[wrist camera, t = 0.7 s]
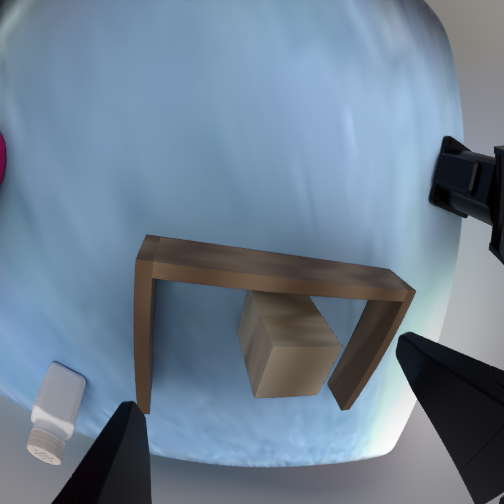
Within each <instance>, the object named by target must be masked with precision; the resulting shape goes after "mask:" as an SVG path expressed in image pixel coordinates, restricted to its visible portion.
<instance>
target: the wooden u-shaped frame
mask: <svg viewBox="0 0 504 504" xmlns="http://www.w3.org/2000/svg"><path fill="white" fill-rule="evenodd" d="M156 279H163V280H170V281H178V282H186V283H194V284H202V285H211V286H219V287H228V288H237V289H247V290H256V291H266V292H277V293H288V294H299V295H310V296H323V297H336V298H350V299H365V300H368V302H367V304H366V307H365V309H364V311H363V314H362V316H361V318H360V320H359V322H358V324H357V327H356V329H355V331H354V333H353V335H352V337H351V339H350V341H349V343H348V345H347V347H346V349H345V351H344V353H343V355H342V357H341V359H340V361H339V363H338V365H337V367H336V369H335V370H334V372H333V374H332V376H331V378H330V380H329V381H328V383H327V384H328V386H329V388H330V390H331V392H332V394H333V396H334V398H335V399H336V401H337V403H338V405H339V407H340V409H341V411H342V410H349V409H350V408H351V406H352V405H353V403H354V402H355V400H356V399H357V398H358V396H359V395H360V393H361V391H362V390H363V388H364V387H365V385H366V384H367V382H368V381H369V379H370V377H371V376H372V374H373V373H374V371H375V369H376V368H377V366H378V364H379V363H380V361H381V359H382V357H383V356H384V354H385V352H386V350H387V349H388V347H389V345H390V343H391V341H392V339H393V338H394V336H395V334H396V332H397V330H398V328H399V326H400V324H401V322H402V320H403V318H404V316H405V314H406V312H407V310H408V308H409V306H410V304H411V302H412V300H413V297H414V295H415V293H416V290H414V289H413V288H412V287H411V286H410V285H408V284H407V283H406V282H405V281H403V280H402V279H401V278H400V277H399V276H397V275H396V274H395V273H394V272H392V271H391V270H390V269H384V268H377V267H370V266H364V265H357V264H350V263H343V262H336V261H329V260H322V259H315V258H308V257H301V256H294V255H287V254H280V253H273V252H266V251H259V250H252V249H245V248H238V247H231V246H224V245H217V244H210V243H203V242H196V241H189V240H182V239H175V238H167V237H160V236H153V235H146V237H145V239H144V241H143V243H142V246H141V248H140V250H139V253H138V255H137V258H136V264H135V284H134V363H135V382H136V396H137V406H138V407H139V408H140V410H141V411H142V412H143V414H150V402H151V388H152V349H153V323H154V305H155V291H156Z"/></svg>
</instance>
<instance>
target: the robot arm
mask: <svg viewBox="0 0 504 504" xmlns="http://www.w3.org/2000/svg"><path fill="white" fill-rule="evenodd" d="M494 154H495V157H491V156H486V155H483V154H478V153H474V152H472V151H470V150H469V149H468V148H466V147H465V146H464V145H462V144H461V143H460V142H458V141H457V140H455V139H454V138H452V137H451V136H445V137H444V141H443V146H442V151H441V155H440V160H439V164H438V168H437V172H436V176H435V180H434V184H433V187H432V191H431V194H430V199H429V200H430V203H431V204H434V205H436V206H438V207H441V208H443V209H445V210H448V211H450V212H452V213H455V214H457V215H459V216H461V217H463V218H467V217H468V215H470V216H472V217H474V218H476V219H478V220H481V221H483V222H485V223H487V224H489V225H491V226H492V236H491V242H490V244H489V250H490V251H491V252H492V253H493V254H494V255H495V256H496V257H497V258H498V259H499V260H500V261H501V262H502V263H503V264H504V146H495V147H494ZM434 198H435V200H434ZM396 357H397V359H398V362H399V364H400V366H401V368H402V370H403V372H404V374H405V376H406V378H407V380H408V382H409V385H410V387H411V389H412V391H413V392H414V394H415V396H416V397H417V399H418V401H419V402H420V404H421V406H422V407H423V409H424V411H425V412H426V414H427V416H428V417H429V419H430V421H431V423H432V424H433V426H434V428H435V429H436V431H437V433H438V435H439V436H440V438H441V440H442V442H443V443H444V445H445V447H446V449H447V451H448V453H449V454H450V456H451V458H452V460H453V462H454V464H455V466H456V467H457V469H458V471H459V474H460V475H461V477H462V479H463V481H464V483H465V485H466V487H467V489H468V491H469V493H470V495H471V497H472V499H473V501H474V503H475V504H485V503H487V502H489V501H491V500H492V499H494V498H495V497H497V496H499V495H500V494H502V493H503V492H504V371H503V370H501V369H498V368H496V367H493V366H490V365H488V364H486V363H483V362H481V361H479V360H476V359H474V358H471V357H469V356H467V355H464V354H462V353H460V352H457V351H455V350H453V349H450V348H448V347H446V346H443V345H441V344H439V343H436V342H434V341H431V340H429V339H427V338H424V337H422V336H420V335H417V334H415V333H413V332H406V333H404V334H402V335H400V336H399V339H398V343H397V348H396ZM150 474H151V473H150V453H149V445H148V436H147V426H146V418H145V416H144V414H143V412H142V411H141V410H140V408H139V407H138V406H137V404H136V403H135V402H134V401H124V402H122V403H121V404H120V405H119V407H118V408H117V410H116V411H115V413H114V414H113V415H112V417H111V418H110V420H109V421H108V423H107V424H106V426H105V427H104V428H103V430H102V431H101V433H100V434H99V436H98V437H97V439H96V440H95V442H94V443H93V445H92V446H91V448H90V449H89V450H88V452H87V453H86V455H85V456H84V458H83V459H82V461H81V462H80V464H79V465H78V467H77V468H76V470H75V471H74V473H73V474H72V477H70V479H69V480H68V482H67V483H66V485H65V486H64V487H63V489H62V490H61V492H60V493H59V494H58V496H57V497H56V498H55V500H54V501H53V502H52V504H152V502H151V501H152V500H151V476H150ZM499 504H504V495H503V496H502V497H501V498H500V502H499Z"/></svg>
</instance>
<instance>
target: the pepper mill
mask: <svg viewBox="0 0 504 504" xmlns="http://www.w3.org/2000/svg"><path fill="white" fill-rule="evenodd" d="M5 162H6V152H5V145H4V141H3V138H2V135H1V133H0V184H1V182H2V179H3V175H4V170H5Z"/></svg>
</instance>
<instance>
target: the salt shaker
mask: <svg viewBox="0 0 504 504" xmlns="http://www.w3.org/2000/svg"><path fill="white" fill-rule="evenodd" d="M85 386H86V381H85V378H84V377H83V376H81V375H79V374H77V373H75V372H73V371H71V370H70V369H68V368H66V367H64V366H62V365H60V364H59V363H56V362H53V363H52V364H51V365H50V366H49V368H48V371H47V373H46V375H45V378H44V380H43V382H42V385H41V387H40V390H39V392H38V395H37V398H36V400H35V403H34V406H33V410H32V415H31V421H32V422H33V423H34V426H33V429H32V430H31V432H30V436H29V440H28V442H27V449H28V451H29V452H30V453H32V454H33V455H34V456H36V457H37V458H39V459H41V460H42V461H45V462H47V463H50V464H54V465H59V464H61V463H62V458H63V457H62V456H63V452H64V448H65V445H64V443H65V439H70V437H71V436H72V433H73V431H74V429H75V425H76V421H77V417H78V413H79V409H80V405H81V401H82V397H83V393H84V390H85Z"/></svg>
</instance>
